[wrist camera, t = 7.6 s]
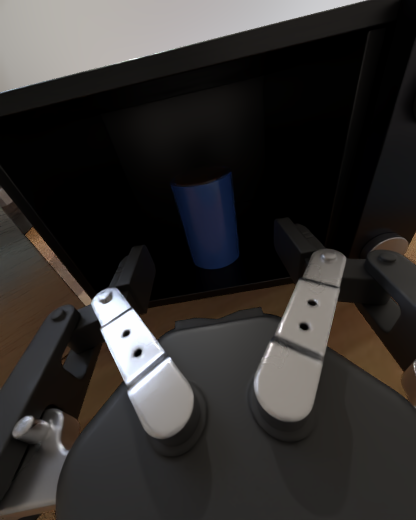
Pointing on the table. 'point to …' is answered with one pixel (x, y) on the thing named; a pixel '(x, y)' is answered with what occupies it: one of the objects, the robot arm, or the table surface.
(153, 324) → the table surface
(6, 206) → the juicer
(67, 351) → the microwave door
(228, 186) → the cup
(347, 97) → the microwave
